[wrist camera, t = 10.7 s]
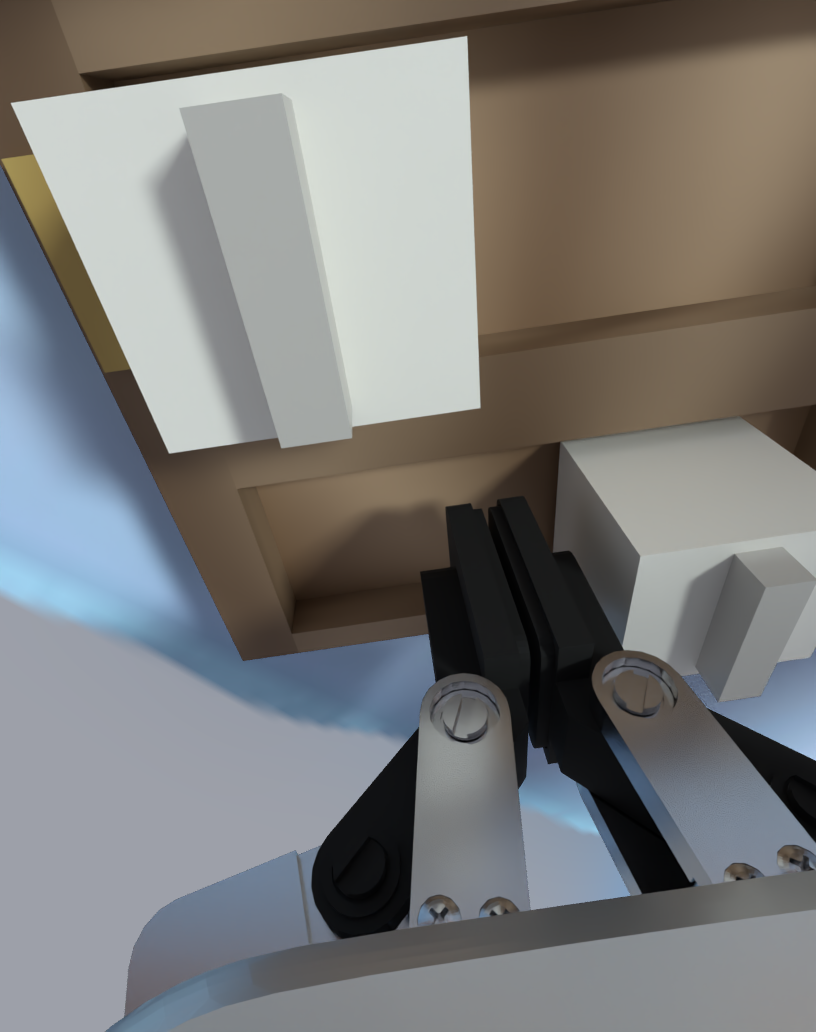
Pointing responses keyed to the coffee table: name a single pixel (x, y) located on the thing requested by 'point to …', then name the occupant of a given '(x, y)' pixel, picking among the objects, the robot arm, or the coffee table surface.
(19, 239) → the coffee table surface
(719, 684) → the tab
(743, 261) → the switch board
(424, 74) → the tab middle
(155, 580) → the coffee table surface
